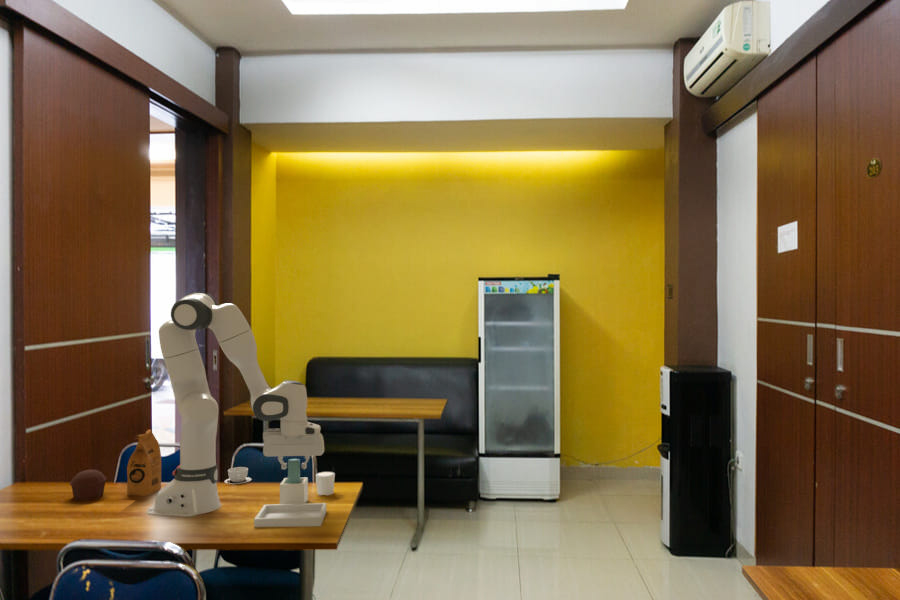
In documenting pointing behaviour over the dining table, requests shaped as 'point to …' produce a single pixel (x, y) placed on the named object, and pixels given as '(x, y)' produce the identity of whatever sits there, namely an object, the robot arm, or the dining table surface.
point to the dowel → (294, 471)
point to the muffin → (88, 485)
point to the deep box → (294, 491)
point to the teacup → (238, 475)
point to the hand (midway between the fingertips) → (294, 468)
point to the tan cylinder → (325, 483)
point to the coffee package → (144, 466)
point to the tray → (290, 515)
